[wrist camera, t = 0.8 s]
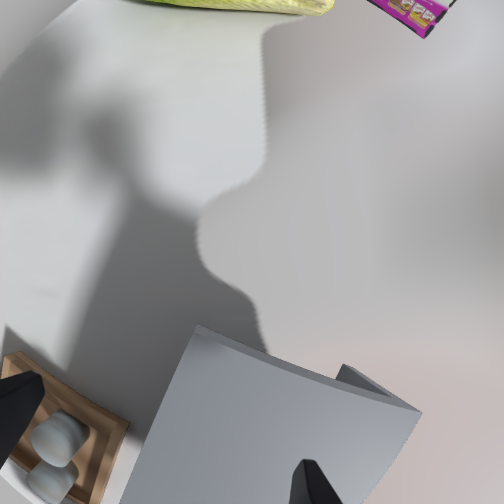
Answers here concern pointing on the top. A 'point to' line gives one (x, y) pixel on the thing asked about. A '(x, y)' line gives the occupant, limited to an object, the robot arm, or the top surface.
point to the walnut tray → (84, 412)
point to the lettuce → (262, 5)
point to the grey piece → (264, 429)
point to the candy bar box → (416, 13)
